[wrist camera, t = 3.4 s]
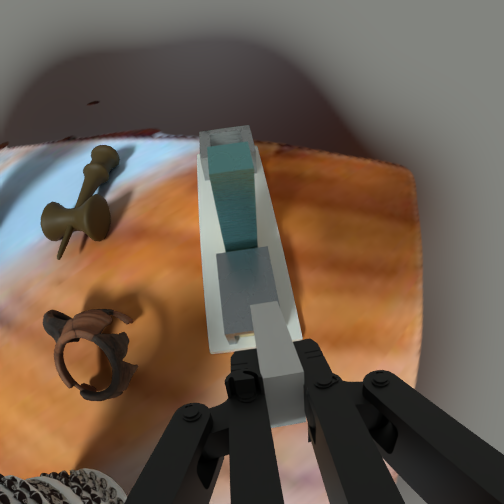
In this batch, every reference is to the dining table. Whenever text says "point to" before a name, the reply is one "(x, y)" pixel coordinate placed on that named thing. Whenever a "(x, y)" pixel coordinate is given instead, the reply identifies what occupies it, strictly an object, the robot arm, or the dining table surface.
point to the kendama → (83, 204)
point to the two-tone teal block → (234, 195)
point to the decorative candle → (62, 489)
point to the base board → (215, 245)
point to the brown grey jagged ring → (90, 329)
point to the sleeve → (244, 288)
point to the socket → (223, 138)
